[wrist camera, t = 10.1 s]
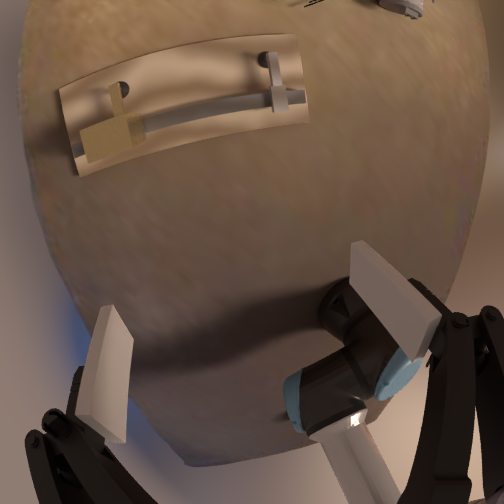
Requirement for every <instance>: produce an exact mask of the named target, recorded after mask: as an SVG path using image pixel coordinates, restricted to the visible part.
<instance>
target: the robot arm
mask: <svg viewBox="0 0 504 504" xmlns="http://www.w3.org/2000/svg"><path fill="white" fill-rule="evenodd" d="M319 319H320V322H321V323H322V325H323V327H324V328H325V329H326V330H327V331H328V332H329V333H331V334H332V335H333V336H334V337H336V338H337V339H339V340H340V341H341V342H343V344H344V345H345V347H343V348H341V349H340V350H338V351H336V352H334V353H332V354H330V355H329V356H327V357H325V358H323V359H321V360H319V361H317V362H315V363H314V364H312V365H309V366H307V367H304V368H302V369H301V370H300V371H298V372H296V373H294V374H293V375H291V376H289V377H288V378H286V380H285V381H284V384H283V397H284V402H285V406H286V410H287V413H288V416H289V418H290V420H291V421H292V425H293V427H294V428H295V430H296V431H297V432H300V433H301V432H302V433H304V432H306V433H307V435H308V437H309V439H312V440H315V441H318V442H319V443H321V445H322V447H323V449H324V452H325V454H326V456H327V458H328V460H329V462H330V465H331V467H332V468H333V471H334V473H335V475H336V477H337V480H338V482H339V484H340V486H341V488H342V490H343V492H344V494H345V496H346V499H347V501H348V503H349V504H504V318H503V316H502V314H501V313H500V311H499V310H498V309H497V308H495V307H493V306H484V307H483V308H482V309H481V312H480V314H479V315H476V316H471V317H467V316H466V315H465V314H463V313H459V312H454V313H452V312H451V311H450V310H449V309H448V308H447V307H446V306H445V305H444V304H443V303H442V302H441V301H440V300H439V299H438V298H437V297H436V296H435V295H433V293H432V292H430V291H429V290H428V289H427V288H426V287H425V286H424V285H423V284H422V283H421V282H419V281H417V280H415V279H413V278H411V279H408V280H406V279H405V278H404V277H403V276H402V275H401V274H400V273H399V272H398V271H397V270H396V269H395V268H393V267H392V266H391V265H390V264H389V263H388V262H387V261H386V260H385V259H384V258H382V257H381V256H380V255H379V254H378V253H377V252H376V251H375V250H373V249H372V248H371V247H370V246H369V245H368V244H367V243H365V242H364V241H363V240H361V241H358V242H354V243H351V260H350V278H348V279H345V280H343V281H342V282H340V283H339V284H337V285H336V286H335V287H333V288H332V289H331V290H330V291H329V292H328V294H327V295H326V296H325V298H324V299H323V301H322V303H321V305H320V308H319ZM133 341H134V339H133V338H132V336H131V334H130V333H129V331H128V329H127V328H126V326H125V324H124V323H123V321H122V319H121V318H120V316H119V314H118V313H117V311H116V309H115V307H114V305H113V304H112V305H107V306H103V307H101V309H100V312H99V315H98V318H97V322H96V325H95V328H94V332H93V335H92V339H91V343H90V346H89V350H88V354H87V358H86V362H85V366H79V367H78V369H77V371H76V372H75V374H74V377H73V382H72V386H71V390H70V391H71V393H70V395H69V400H68V405H67V410H66V415H65V414H63V412H61V411H60V410H59V409H56V408H55V409H50V410H49V411H47V412H46V413H45V414H44V417H43V419H42V429H43V430H44V431H45V432H47V433H46V434H42V433H41V432H40V431H38V430H35V429H34V430H31V431H30V432H29V433H28V434H27V435H26V438H25V448H26V454H27V459H28V463H29V468H30V472H31V476H32V480H33V484H34V488H35V491H36V494H37V497H38V501H39V504H158V503H157V502H156V501H155V500H154V499H153V498H152V497H151V496H150V495H149V494H148V493H147V492H146V491H145V490H144V489H143V488H142V487H141V486H140V485H139V484H138V483H137V481H135V479H134V478H133V477H132V476H131V475H130V474H129V473H128V471H126V469H125V468H124V467H123V466H122V464H121V463H120V462H119V461H118V460H117V458H116V457H115V456H114V455H113V453H112V452H111V451H110V449H109V448H108V447H107V446H106V445H104V441H105V439H107V440H108V441H109V442H111V443H126V419H127V400H128V387H129V376H130V366H131V357H132V349H133ZM428 349H429V350H430V351H431V352H432V354H431V356H430V358H429V360H428V362H427V364H426V367H428V365H429V364H430V368H429V379H428V389H427V397H426V404H425V410H424V416H423V423H422V427H421V432H420V437H419V442H418V446H417V451H416V454H415V459H414V462H413V466H412V470H411V473H410V476H409V479H408V483H407V486H406V488H405V490H404V492H403V493H402V495H401V494H400V492H399V490H398V488H397V486H396V484H395V482H394V480H393V478H392V476H391V474H390V471H389V469H388V467H387V465H386V464H385V462H384V460H383V458H382V456H381V454H380V452H379V450H378V448H377V446H376V444H375V442H374V440H373V438H372V436H371V434H370V432H369V430H368V428H367V426H366V424H365V422H364V419H365V416H366V414H367V411H368V409H367V408H366V406H365V404H364V402H365V401H366V400H368V399H370V398H371V397H373V396H374V397H375V399H377V400H379V401H383V400H386V399H387V398H390V397H392V396H393V395H395V394H396V393H397V392H399V391H400V390H401V389H402V388H403V387H404V386H405V385H407V383H408V382H409V381H410V380H411V379H412V378H413V376H414V375H415V374H416V372H417V371H418V369H419V368H420V365H421V363H422V358H423V357H424V356H425V354H426V352H427V350H428ZM487 349H488V350H487ZM488 351H489V352H488ZM475 406H476V411H477V418H478V425H479V433H480V441H481V453H482V475H483V490H484V496H485V498H484V499H478V500H474V501H470V502H468V501H469V496H470V493H471V488H472V482H471V480H470V479H469V477H468V475H467V473H468V467H469V461H470V455H471V447H472V440H473V431H474V419H475Z"/></svg>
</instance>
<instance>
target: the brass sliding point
mask: <svg viewBox="0 0 504 504" xmlns="http://www.w3.org/2000/svg"><path fill="white" fill-rule="evenodd" d="M108 87H109V93H110V98H111V103H112V108H113V112H114V117H113V118H110V119H108V120H105V121H102V122H100V123H97V124H95V125H92V126H90V127H87V128H85V129H83V130H80V135H81V140H82V143H83V147H84V151H85V155H86V158H87V162H88V164H90V163H92V162H95V161H98V160H100V159H103V158H106V157H109V156H111V155H114V154H117V153H120V152H123V151H126V150H129V149H132V148H134V147H136V146H137V145H139V144H140V143H142V142H143V141H145V140H146V139H147V138H146V134H145V129H144V125H143V120H142V116H141V113H125V108H124V104H123V99H122V94H121V92H122V88H121V87H120V83H114V84H112V85H109V86H108Z"/></svg>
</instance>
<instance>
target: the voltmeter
mask: <svg viewBox="0 0 504 504" xmlns="http://www.w3.org/2000/svg"><path fill="white" fill-rule="evenodd" d="M313 1H316V0H312V1H310V2H309V3H311V2H313ZM321 1H324V0H320V1H317V2H315V3H318V2H321ZM315 3H312V4H309V5H306V6H304V8H305V7H307V6H310V5H313V4H315ZM432 3H435V0H433V1H432ZM379 5H380V6H381V7H383V8H385V9H387V10H390V11H393V12H396V13H399V14H402V15H405V16H409V17H411V19H417V20H418V17H422V14H423V0H379Z"/></svg>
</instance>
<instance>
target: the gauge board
mask: <svg viewBox="0 0 504 504" xmlns="http://www.w3.org/2000/svg"><path fill="white" fill-rule="evenodd" d="M114 83H120V87H121V88H122V92H121V94H122V99H123V104H124V108H125V113H141V116H142V120H143V125H144V129H145V134H146V138H147V139H146V140H145V141H143V142H142V143H140V144H139V145H137V146H136V147H134V148H132V149H129V150H126V151H123V152H120V153H117V154H114V155H111V156H109V157H106V158H103V159H100V160H98V161H95V162H92V163H90V164H88V162H87V158H86V155H85V151H84V147H83V143H82V140H81V135H80V130H83V129H85V128H87V127H90V126H92V125H95V124H97V123H100V122H102V121H105V120H108V119H110V118H113V117H114V112H113V108H112V103H111V98H110V93H109V87H108V86H109V85H112V84H114ZM59 92H60V98H61V103H62V109H63V114H64V118H65V123H66V127H67V132H68V136H69V140H70V144H71V148H72V151H73V155H74V159H75V162H76V166H77V169H78V172H79V176H80V177H83V176H85V175H88V174H90V173H93V172H96V171H98V170H101V169H104V168H107V167H109V166H112V165H115V164H118V163H121V162H124V161H127V160H130V159H133V158H137V157H140V156H143V155H146V154H150V153H153V152H157V151H160V150H164V149H167V148H171V147H175V146H179V145H183V144H187V143H191V142H195V141H199V140H204V139H208V138H213V137H217V136H222V135H227V134H232V133H238V132H243V131H249V130H255V129H261V128H268V127H275V126H282V125H290V124H299V123H308V122H309V113H308V105H307V98H306V90H305V83H304V77H303V70H302V64H301V58H300V52H299V46H298V41H297V35H296V34H279V35H257V36H245V37H235V38H226V39H219V40H212V41H206V42H200V43H195V44H189V45H185V46H180V47H175V48H171V49H167V50H163V51H159V52H155V53H152V54H148V55H145V56H141V57H138V58H135V59H132V60H129V61H125V62H123V63H120V64H117V65H114V66H111V67H109V68H106V69H103V70H101V71H98V72H96V73H93V74H91V75H89V76H86V77H84V78H82V79H80V80H77V81H75V82H73V83H71V84H69V85H67V86H65V87H63V88H61V89H59Z"/></svg>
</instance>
